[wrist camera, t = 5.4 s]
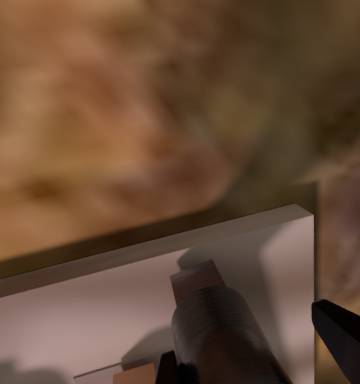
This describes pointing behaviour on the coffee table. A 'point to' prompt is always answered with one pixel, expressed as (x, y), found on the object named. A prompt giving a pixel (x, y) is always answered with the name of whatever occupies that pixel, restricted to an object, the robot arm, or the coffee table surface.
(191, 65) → the coffee table surface
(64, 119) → the coffee table surface
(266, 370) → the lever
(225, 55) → the coffee table surface
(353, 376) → the robot arm
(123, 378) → the terracotta cube
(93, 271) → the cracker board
